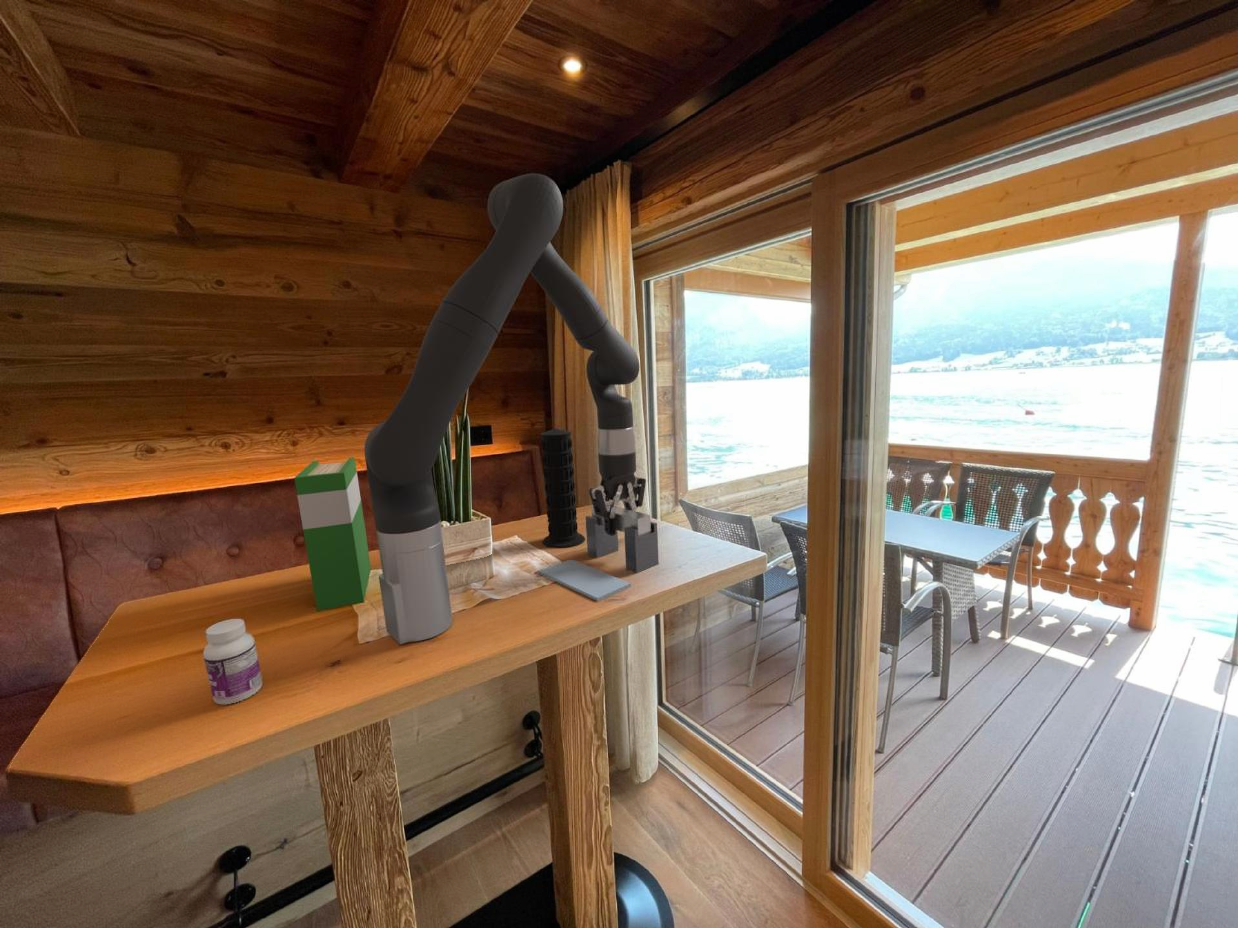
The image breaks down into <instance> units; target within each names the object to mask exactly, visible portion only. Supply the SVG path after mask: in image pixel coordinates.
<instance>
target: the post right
mask: <svg viewBox="0 0 1238 928" xmlns="http://www.w3.org/2000/svg"><path fill="white" fill-rule="evenodd" d="M650 522H651V532H649V533H647V534H644V535H641V536H638V530H637V529H634V528H630V527H625V528H624V532H623V533H624V555H625V556H624V557H625V558H624V559H625V569H626V571H630V572H632V573H635V574H638V573H640V572H643V571H646V570H647V569H650V568H652V567H655V566H656V565H659V541H658V540H659V539H658V537H659V536H658V522H653V521H651V520H650Z"/></svg>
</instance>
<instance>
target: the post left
mask: <svg viewBox="0 0 1238 928" xmlns="http://www.w3.org/2000/svg"><path fill="white" fill-rule="evenodd" d="M585 529H586V530H585V531H586V544H587V545H586V546H587V549H586V550H587V555H588V556H590V557H592V558H595V559H599V558H602V557H604V556H606V555H609V554H612V553H614V552H617V551H619V537H618V536H619V535H618V530H616V535H613V536H611V535H608V534H607V533H606V532H605V527H604V526H602V525H598V518H595V517H592V515H586V516H585Z"/></svg>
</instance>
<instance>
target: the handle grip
mask: <svg viewBox="0 0 1238 928" xmlns="http://www.w3.org/2000/svg"><path fill="white" fill-rule="evenodd" d="M571 435H572V431H568V430H565V429H561V428H553V429H551V430H547V431H545V432H542V433H540V437H541V440H542V441H541V449H542V453H541V454H543V456H542V463H543V468H544V470H543V476H544V479H543V481H544V483H545V484H544V491H545V496H546V497H545V504H546V506H545V507H546V509H547V511H546V517H547V521H546V522H547V523H548V527H547V530H548V535H547V536H545V537H544V538H543V540H542V542H541V543H542V545H543V546H544V547H547V548H551V549H567V548H568V549H569V548H574V547H577V546H579V545H582V544H583V543H584V542H585V541H586V538H585V536H584V534H583V533H582V534H581V533H579V531H578V529H579V528H578V522H577V521H578V517H577V508H576V507H577V503H576V502H577V499H576V490H575V489H576V488H575V487H576V486H575V485H576V483H575V476H574V475H575V472H574V470H575V469H574V463H573V461H574V456H573V449H572V446H573V441H572V439H571Z"/></svg>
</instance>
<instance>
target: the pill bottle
mask: <svg viewBox="0 0 1238 928" xmlns="http://www.w3.org/2000/svg"><path fill="white" fill-rule="evenodd" d="M246 628H247V627H246V624H245V620H244V619H242V618H231V619H226V620H222V621H219V622H216V623H215V624H212V625H211V626H209V627H208V628H207V629H206V630H205V636H206V641H207V643H208V644H207V645H206V646H205V648H203V652H202V655H203V660H204V665H205V668H206V674H207V677H208V682H209V686H210V690H211V695H212V699H213V702H214V703H216V704H217V705H222V706H223V705H224V706H225V705H226V706H227V704H229V705H232V704H231V703H234V704H236V702H237V703H240V702H243V701H245V700H247V699H249V698H251V697H252V695H253V696H254V695H255V694H257V693H258V692H259V691H260V689H261V688H262V687H263V677H262V671H261V666H260V662H259V656H258V651H257V646H256V645H257V644H256V641H255V638H254V636H253V635H252V634H250V633H248V632H246V631H247V629H246ZM256 692H257V693H256ZM244 699H245V700H244ZM239 701H240V702H239Z"/></svg>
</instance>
